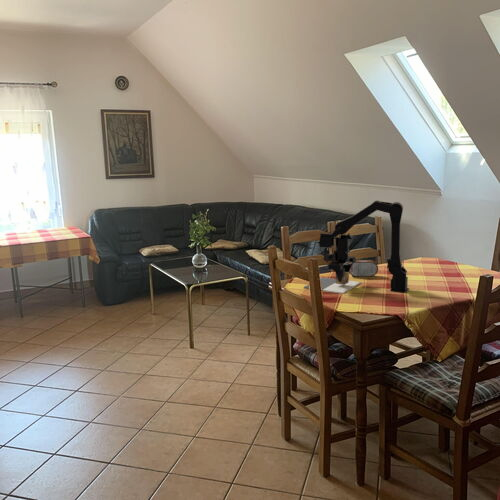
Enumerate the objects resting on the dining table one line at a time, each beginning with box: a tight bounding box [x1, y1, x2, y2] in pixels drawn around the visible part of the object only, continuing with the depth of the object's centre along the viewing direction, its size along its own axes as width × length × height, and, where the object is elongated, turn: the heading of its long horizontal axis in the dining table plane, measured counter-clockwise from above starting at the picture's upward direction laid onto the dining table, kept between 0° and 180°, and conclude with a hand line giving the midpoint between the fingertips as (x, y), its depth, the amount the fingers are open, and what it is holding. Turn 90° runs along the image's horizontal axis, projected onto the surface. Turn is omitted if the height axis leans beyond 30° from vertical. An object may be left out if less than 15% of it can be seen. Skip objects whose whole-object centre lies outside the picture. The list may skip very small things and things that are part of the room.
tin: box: [349, 259, 379, 278], centre depth 252 cm, size 15×3×8 cm, turn 84°
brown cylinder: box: [335, 272, 350, 285], centre depth 234 cm, size 4×4×5 cm
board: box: [303, 277, 361, 295], centre depth 238 cm, size 20×20×1 cm
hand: (342, 280), depth 235 cm, fingers open, 5 cm apart
